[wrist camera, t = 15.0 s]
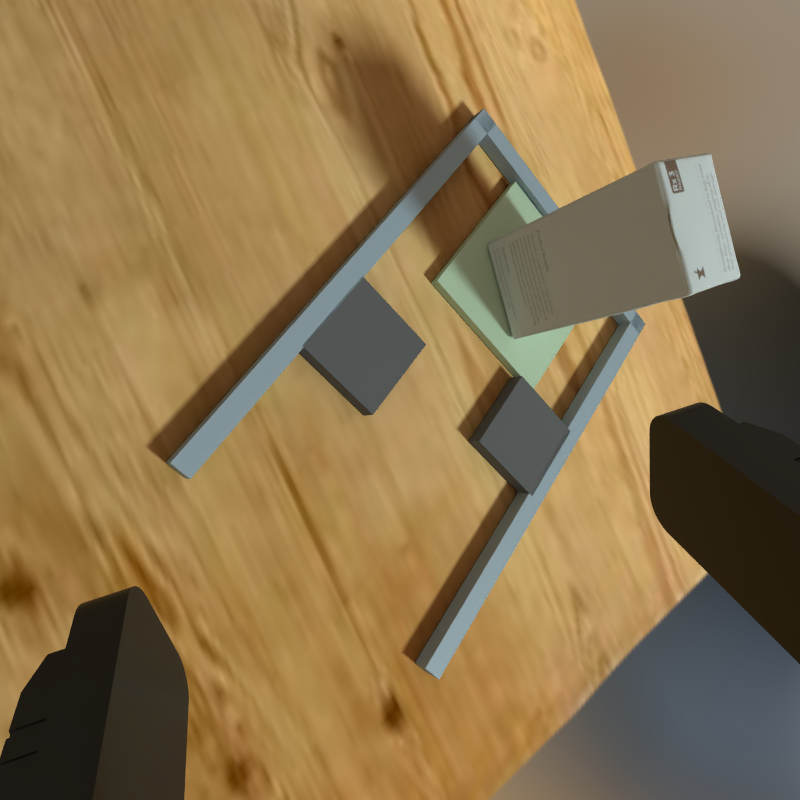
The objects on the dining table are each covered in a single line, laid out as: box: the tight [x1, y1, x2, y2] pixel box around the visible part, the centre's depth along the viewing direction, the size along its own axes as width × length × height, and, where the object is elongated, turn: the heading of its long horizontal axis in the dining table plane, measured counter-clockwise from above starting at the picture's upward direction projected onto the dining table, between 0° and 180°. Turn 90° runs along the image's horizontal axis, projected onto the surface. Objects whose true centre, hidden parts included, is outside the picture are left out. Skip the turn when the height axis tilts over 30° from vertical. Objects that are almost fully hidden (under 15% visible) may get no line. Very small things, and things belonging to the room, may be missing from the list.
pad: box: [432, 181, 575, 389], centre depth 38 cm, size 9×9×1 cm
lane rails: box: [166, 109, 645, 679], centre depth 35 cm, size 27×18×1 cm
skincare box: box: [488, 153, 740, 339], centre depth 33 cm, size 6×4×12 cm
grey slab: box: [469, 376, 569, 496], centre depth 37 cm, size 5×5×1 cm
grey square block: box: [299, 276, 426, 415], centre depth 32 cm, size 5×5×1 cm
